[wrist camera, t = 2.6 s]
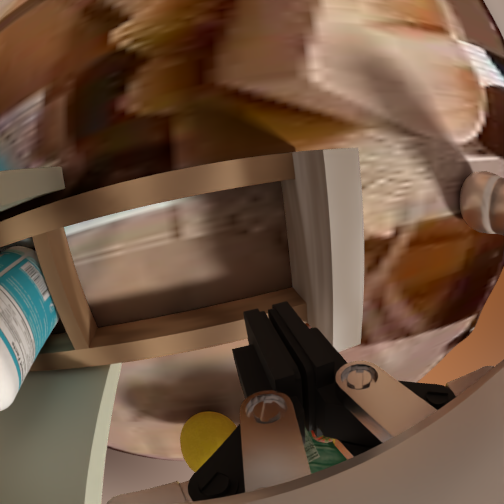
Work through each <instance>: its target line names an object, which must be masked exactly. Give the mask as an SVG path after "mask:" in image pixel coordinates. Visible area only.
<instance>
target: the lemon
mask: <svg viewBox="0 0 504 504" xmlns="http://www.w3.org/2000/svg"><path fill="white" fill-rule="evenodd" d="M236 428H237V427H236V425H235V424H234V423H233V422H232V421H231V420H230V419H229V418H228V417H226V416H225V415H222V414H220V413H217V412H211V411H207V412H201V413H198V414H195V415H194V416H192V417H191V418H189V419H188V421H187V422H186V423H185V424H184V426H183V429H182V432H181V436H180V443H181V450H182V454H183V457H184V459H185V461H186V463H187V464H188V465H189V467H190V468H191V469H192V470H193V471H194V472H196V471H197V470H198V469H199V468H200V467H201V466H202V465H203V464H204V463H205V462H206V461H207V460H208V459H209V458H210V457H211V456H212V454H213V453H214V452H215V451H216V450H217V449H218V448H219V447H220V446H221V445H222V444H223V442H224V441H225V440H226V439H227V438H228V437H229V436H230V435H231V433H232V432H233V431H234V430H235V429H236Z"/></svg>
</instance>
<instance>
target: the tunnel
mask: <svg viewBox="0 0 504 504" xmlns="http://www.w3.org/2000/svg"><path fill="white" fill-rule="evenodd" d="M62 189H65V184H64V179H63V173H62V167H43V168H28V169H16V170H6V171H0V212H3V211H5V210H8V209H10V208H12V207H15V206H17V205H20V204H23V203H25V202H28V201H30V200H33V199H36V198H39V197H41V196H44V195H47V194H50V193H53V192H56V191H59V190H62ZM121 366H122V363H116V364H108V365H100V366H92V367H82V368H72V369H60V370H47V371H29V372H28V373H27V375H26V377H25V379H24V381H23V383H22V385H21V387H20V389H19V391H18V393H17V395H16V397H15V399H14V401H13V402H12V404H11V405H10V406H9V407H8V408H6V409H4V410H2V411H0V504H101V502H102V487H103V476H104V466H105V457H106V449H107V442H108V435H109V429H110V422H111V416H112V411H113V405H114V400H115V394H116V389H117V384H118V380H119V375H120V370H121Z"/></svg>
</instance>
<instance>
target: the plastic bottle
mask: <svg viewBox="0 0 504 504" xmlns="http://www.w3.org/2000/svg"><path fill="white" fill-rule="evenodd" d="M460 210H461V214H462V217H463V219H464V220H465V222H466V223H467V225H468V226H470V227H471V228H473V229H475V230H477V231H478V232H483V233H491V234H496V233H497V234H501V235H504V178H502V177H500V176H498V175H496V174H493V173H490V172H487V171H482V172H474V173H472V174H471V175H469V176H468V177H467V178H466V179H465V181H464V183H463V185H462V188H461V193H460Z"/></svg>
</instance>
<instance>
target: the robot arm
mask: <svg viewBox="0 0 504 504" xmlns="http://www.w3.org/2000/svg"><path fill="white" fill-rule="evenodd" d="M243 315H244V320H245V326H246V331H247V336H248V341H249V345H248V346H244V347H240V348H236V349H232V351H233V356H234V360H235V364H236V368H237V372H238V376H239V379H240V383H241V386H242V390H243V393H244V396H245V400H244V401H243V403H242V405H241V406H240V424H239V425H238V427H237V428H236V429H235V430H234V431H233V432H232V433H231V435H230V436H229V437H228V438H227V439H226V440H225V441H224V442H223V444H222V445H221V446H220V447H219V448H218V449H217V450H216V451H215V452H214V453H213V454H212V456H211V457H210V458H209V459H208V460H207V461H206V462H205V463H204V464H203V465H202V466H201V467H200V468H199V469H198V470H197V471H196V472H195V473H194V474H193V476H192V477H191V479H190V480H189V481H186V482H183V483H178V482H177V481H176V482H172V483H169V484H165V485H161V486H157V487H154V488H150V489H145V490H141V491H136V492H132V493H127V494H122V495H118V496H115V497H113V498H112V499H110V500H109V501H108V502H107V504H504V360H503V361H501V362H500V363H499V364H497V365H496V366H495V367H494V366H485V367H482V368H480V369H478V370H476V371H474V372H472V373H469V374H467V375H465V376H462V377H460V378H458V379H455V380H453V381H450V382H448V383H447V384H446V386H442V385H437V384H425V383H415V382H405V381H397V380H396V379H394V378H393V377H392V376H390V375H389V374H388V373H386V372H385V371H384V370H382V369H381V368H380V367H378V366H377V365H375V364H373V363H371V362H367V361H354V362H350V363H347V362H346V361H345V360H344V359H343V357H342V356H341V355H340V354H339V353H338V351H337V350H336V349H335V348H334V347H333V346H332V344H331V343H330V342H329V341H328V340H327V339H326V337H325V336H324V335H323V334H322V333H321V332H320V330H319V329H318V328H316V327H314V328H311V329H309V328H308V327H307V326H306V324H305V323H304V322H303V321H302V319H301V318H300V317H299V316H298V314H297V313H296V312H295V311H294V309H293V308H292V307H291V306H290V304H289V303H288V302H287V301H285V302H281V303H277V304H273V305H272V309H268V316H267V314H266V313H265V311H259V309H258V308H257V309H253V310H248V311H244V312H243ZM268 317H269V318H268ZM305 428H306V429H307V431H308V432H309V431H312V430H313V432H314V434H315V435H316V437H320V436H325V437H329V438H332V441H333V443H334V445H335V446H336V447H337V448H338V450H339V451H340V452H341V453H342V454H343V455H344V456H345V458H346V459H347V460H346V461H343V462H341V463H339V464H336V465H334V466H331V467H329V468H326V469H323V470H321V471H318V472H315V473H313V474H311V471H310V467H309V464H308V460H307V456H306V452H305V448H304V444H305Z"/></svg>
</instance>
